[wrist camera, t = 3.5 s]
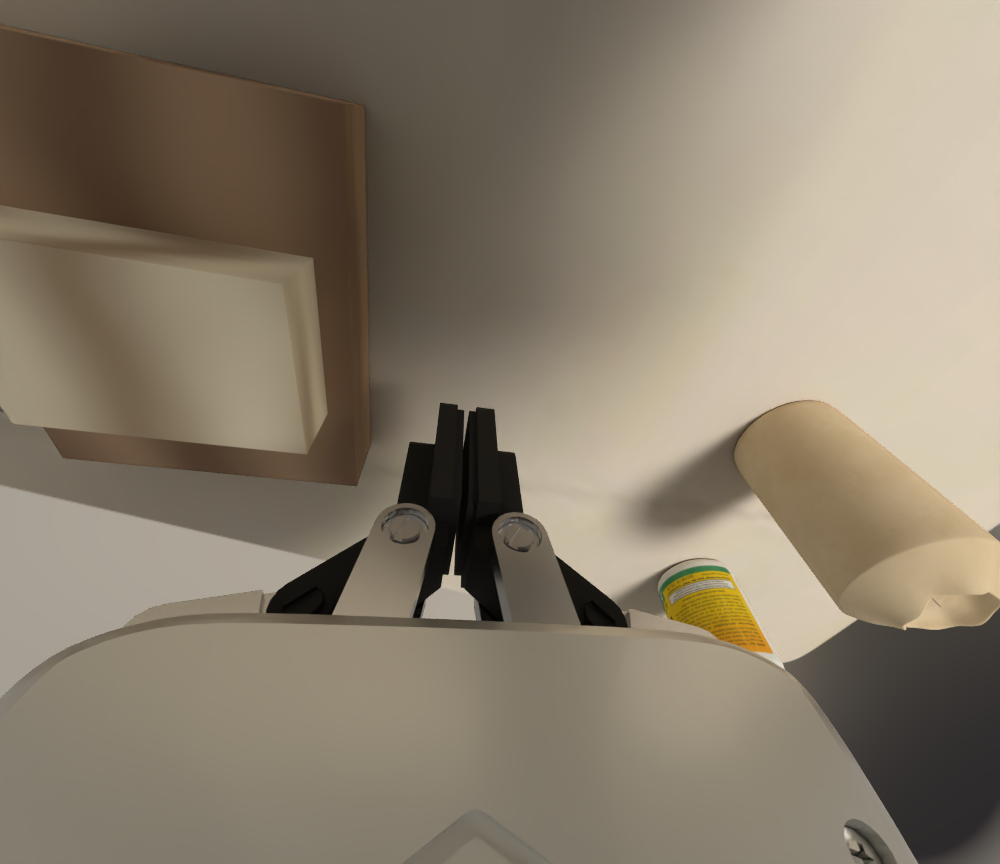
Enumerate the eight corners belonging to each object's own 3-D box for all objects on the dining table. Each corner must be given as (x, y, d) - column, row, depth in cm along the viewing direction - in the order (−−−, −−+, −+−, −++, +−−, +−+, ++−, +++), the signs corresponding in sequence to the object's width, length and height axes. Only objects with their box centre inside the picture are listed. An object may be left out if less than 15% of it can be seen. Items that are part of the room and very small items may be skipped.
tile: (312, 258, 13) (282, 284, 11) (327, 413, 16) (306, 454, 14) (-22, 201, 11) (-127, 219, 9) (73, 383, 15) (12, 423, 13)
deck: (364, 105, 13) (338, 103, 10) (370, 444, 21) (356, 486, 19) (-87, 5, 11) (-240, -25, 9) (113, 416, 20) (63, 458, 17)
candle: (719, 480, 24) (838, 660, 16) (751, 401, 20) (921, 580, 13) (813, 474, 24) (978, 651, 16) (860, 395, 20) (1098, 569, 13)
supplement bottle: (741, 576, 30) (828, 730, 23) (676, 604, 32) (737, 753, 25) (709, 545, 28) (794, 707, 20) (641, 578, 30) (695, 735, 22)
